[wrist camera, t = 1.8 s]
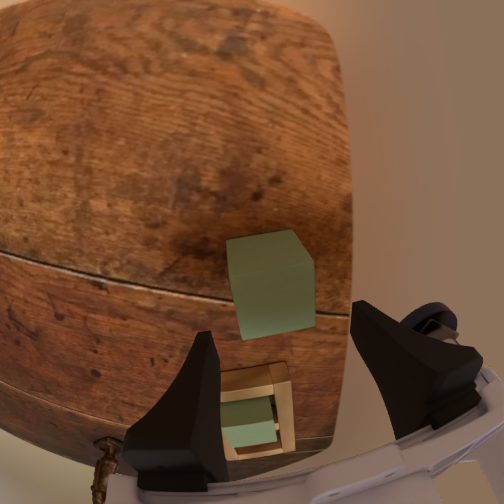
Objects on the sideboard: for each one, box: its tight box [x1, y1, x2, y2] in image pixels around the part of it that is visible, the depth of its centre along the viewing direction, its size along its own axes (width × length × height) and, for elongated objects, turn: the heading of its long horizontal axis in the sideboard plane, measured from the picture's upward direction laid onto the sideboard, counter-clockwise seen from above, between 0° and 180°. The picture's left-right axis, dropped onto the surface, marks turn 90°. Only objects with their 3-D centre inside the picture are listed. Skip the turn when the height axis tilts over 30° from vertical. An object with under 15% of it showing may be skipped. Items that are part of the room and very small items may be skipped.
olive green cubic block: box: [226, 229, 316, 340], centre depth 18 cm, size 5×5×5 cm
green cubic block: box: [220, 395, 277, 448], centre depth 24 cm, size 5×5×5 cm
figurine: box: [91, 437, 123, 504], centre depth 24 cm, size 7×4×15 cm, turn 127°
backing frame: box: [221, 361, 295, 461], centre depth 27 cm, size 9×16×2 cm, turn 8°
